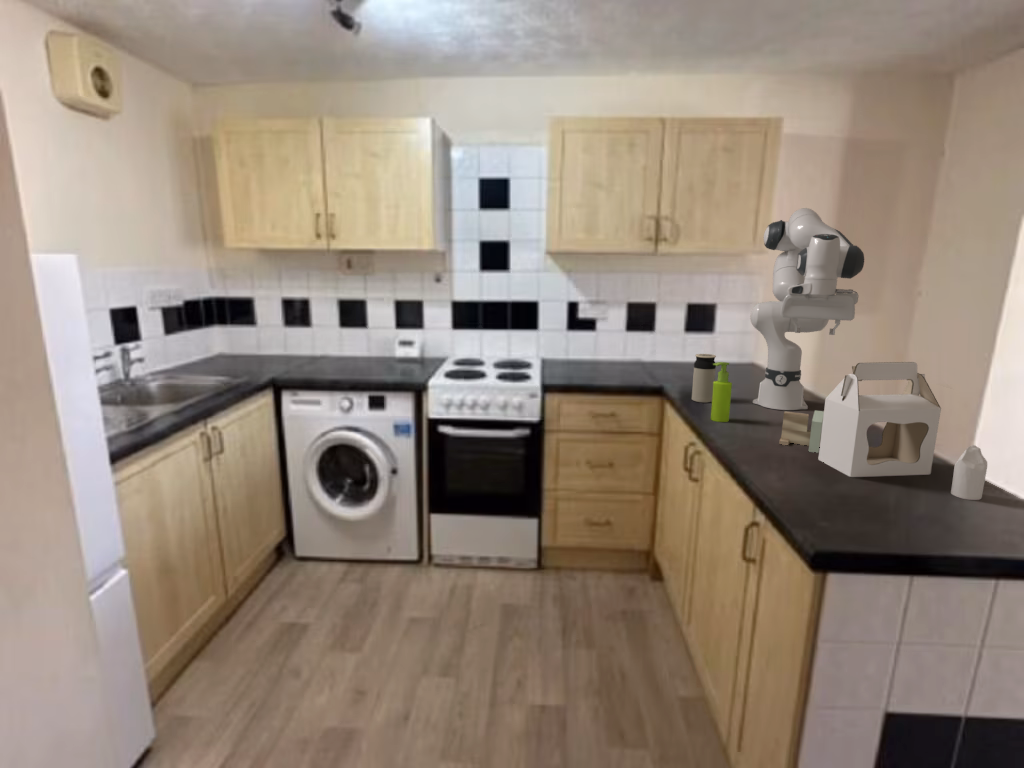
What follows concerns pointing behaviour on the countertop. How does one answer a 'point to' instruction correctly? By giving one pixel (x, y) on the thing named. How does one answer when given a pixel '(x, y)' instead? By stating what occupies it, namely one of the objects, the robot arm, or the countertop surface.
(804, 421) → the wooden peg bench
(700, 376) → the travel mug
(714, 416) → the soap dispenser
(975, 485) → the white plastic bottle
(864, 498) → the countertop surface
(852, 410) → the gable box
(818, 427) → the grey-green rectangular slab
